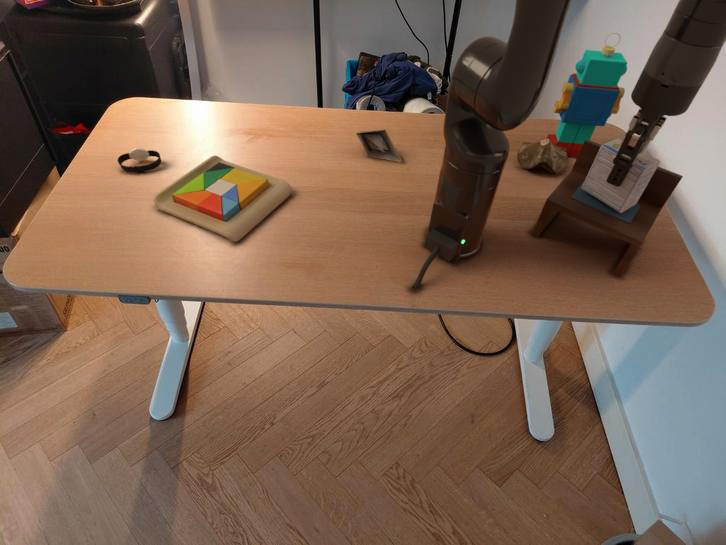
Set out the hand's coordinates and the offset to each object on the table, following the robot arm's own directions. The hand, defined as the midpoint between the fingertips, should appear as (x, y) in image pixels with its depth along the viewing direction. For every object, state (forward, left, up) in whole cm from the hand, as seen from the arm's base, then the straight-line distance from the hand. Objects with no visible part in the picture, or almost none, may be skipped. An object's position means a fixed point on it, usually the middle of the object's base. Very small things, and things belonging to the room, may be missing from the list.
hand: (619, 175), depth 76 cm
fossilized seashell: (+15, +16, -14) cm, 26 cm away
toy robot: (+25, +14, -14) cm, 32 cm away
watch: (-40, +76, -14) cm, 87 cm away
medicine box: (0, 0, -5) cm, 5 cm away
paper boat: (-6, +44, -14) cm, 46 cm away
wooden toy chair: (0, 0, -13) cm, 13 cm away
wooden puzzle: (-36, +56, -14) cm, 68 cm away
